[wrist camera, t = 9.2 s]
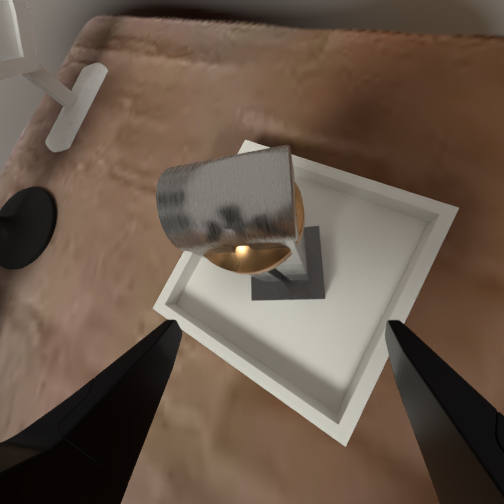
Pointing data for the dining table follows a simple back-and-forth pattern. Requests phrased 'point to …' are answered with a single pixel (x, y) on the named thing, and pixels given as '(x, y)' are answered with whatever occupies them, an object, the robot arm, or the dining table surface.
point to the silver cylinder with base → (245, 221)
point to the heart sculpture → (45, 73)
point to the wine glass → (26, 227)
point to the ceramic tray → (320, 310)
